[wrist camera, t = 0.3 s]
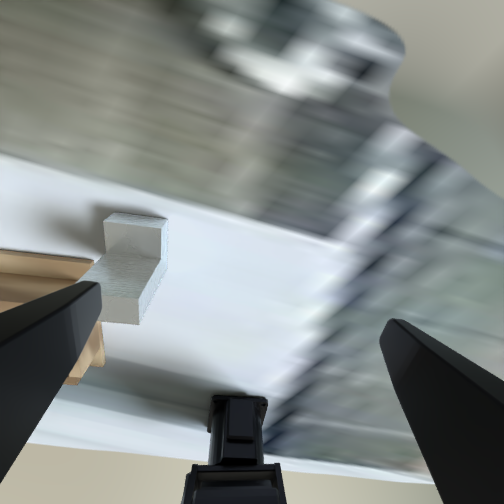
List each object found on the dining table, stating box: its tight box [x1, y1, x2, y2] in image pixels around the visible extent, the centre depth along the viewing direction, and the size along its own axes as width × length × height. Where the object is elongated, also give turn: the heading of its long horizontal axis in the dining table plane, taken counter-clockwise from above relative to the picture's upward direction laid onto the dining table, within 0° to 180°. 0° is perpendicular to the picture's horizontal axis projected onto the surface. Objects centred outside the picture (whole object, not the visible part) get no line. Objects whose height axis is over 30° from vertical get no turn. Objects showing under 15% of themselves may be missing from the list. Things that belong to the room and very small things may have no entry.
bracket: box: [75, 212, 168, 325], centre depth 19 cm, size 4×4×7 cm
